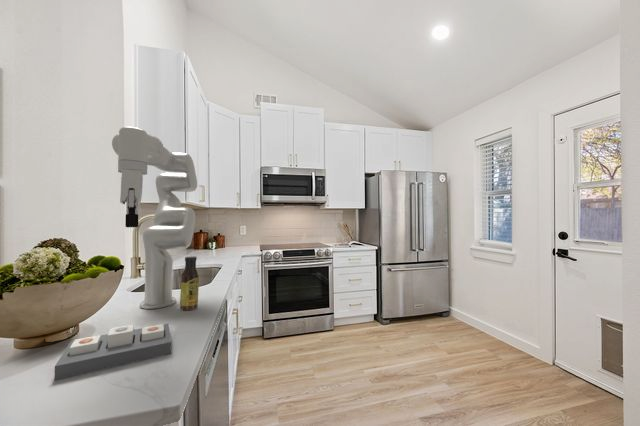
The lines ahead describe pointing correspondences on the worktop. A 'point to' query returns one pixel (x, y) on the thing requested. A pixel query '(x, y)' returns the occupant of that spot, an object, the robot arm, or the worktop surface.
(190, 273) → the sauce bottle
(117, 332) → the plain key
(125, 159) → the robot arm
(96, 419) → the worktop surface
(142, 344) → the slotted grey tray
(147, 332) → the dot key
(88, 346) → the dot key
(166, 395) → the worktop surface
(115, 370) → the worktop surface
